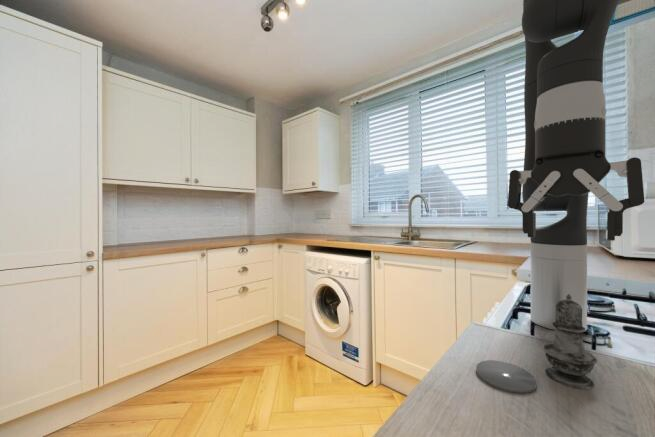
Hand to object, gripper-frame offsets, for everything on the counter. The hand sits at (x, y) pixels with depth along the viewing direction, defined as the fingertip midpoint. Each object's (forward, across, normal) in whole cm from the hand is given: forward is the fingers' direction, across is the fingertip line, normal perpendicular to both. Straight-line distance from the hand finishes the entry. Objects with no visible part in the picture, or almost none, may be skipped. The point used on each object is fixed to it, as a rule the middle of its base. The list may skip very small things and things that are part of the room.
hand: (568, 238), depth 40 cm
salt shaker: (+20, 0, 0) cm, 20 cm away
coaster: (+20, +6, +6) cm, 22 cm away
